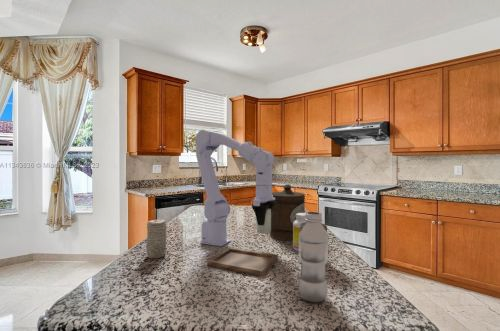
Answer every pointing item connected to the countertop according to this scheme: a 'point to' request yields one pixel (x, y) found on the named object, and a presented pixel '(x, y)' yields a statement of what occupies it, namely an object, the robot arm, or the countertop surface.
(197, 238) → the countertop surface
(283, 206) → the wooden container
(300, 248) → the jar
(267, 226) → the cup
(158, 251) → the carving
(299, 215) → the supplement bottle
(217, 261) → the tray
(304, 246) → the plastic bottle
